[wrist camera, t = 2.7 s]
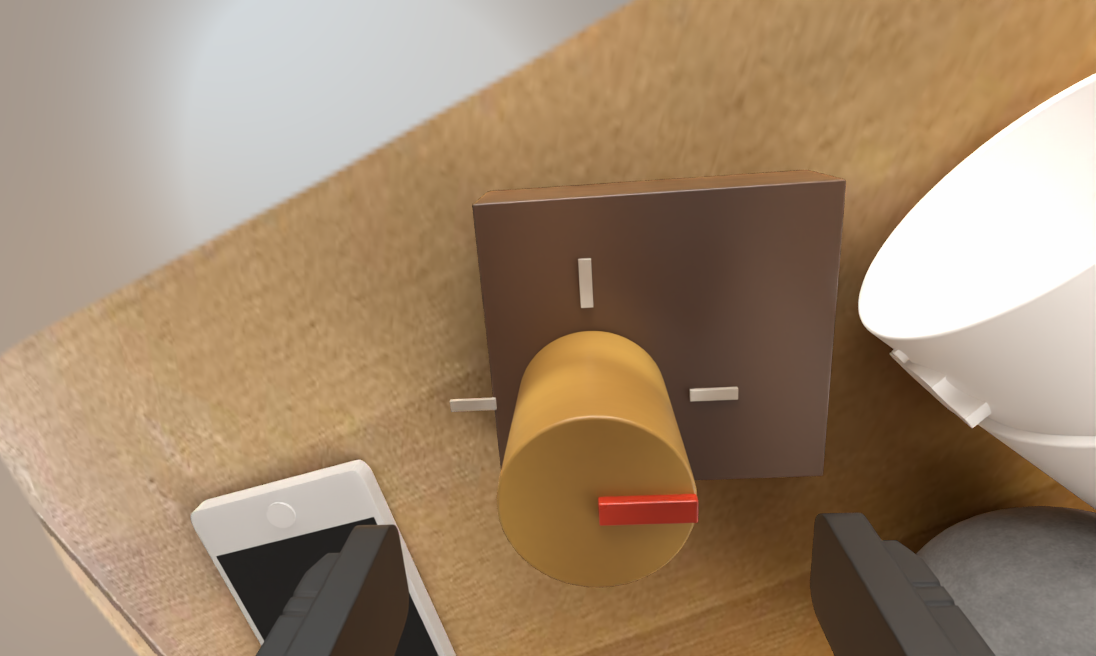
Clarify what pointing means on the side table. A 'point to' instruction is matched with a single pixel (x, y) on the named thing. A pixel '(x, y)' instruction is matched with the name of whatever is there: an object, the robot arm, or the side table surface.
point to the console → (679, 302)
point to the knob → (595, 465)
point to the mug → (1005, 289)
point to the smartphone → (304, 545)
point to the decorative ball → (1023, 578)
